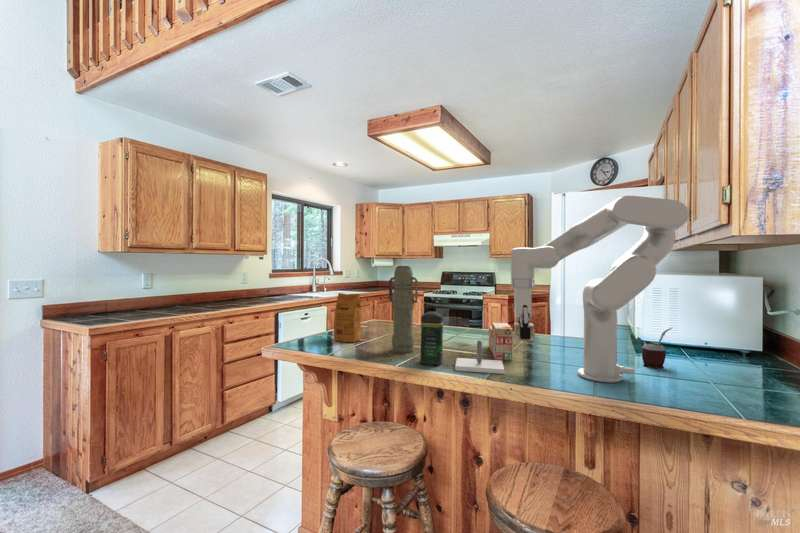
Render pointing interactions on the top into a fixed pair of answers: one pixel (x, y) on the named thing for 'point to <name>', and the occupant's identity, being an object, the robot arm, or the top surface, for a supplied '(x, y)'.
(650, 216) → the robot arm
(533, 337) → the bead
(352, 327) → the coffee package
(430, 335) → the coffee jar
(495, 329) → the food package box
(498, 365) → the needle board
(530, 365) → the top surface
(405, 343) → the thermos
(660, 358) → the mate gourd
